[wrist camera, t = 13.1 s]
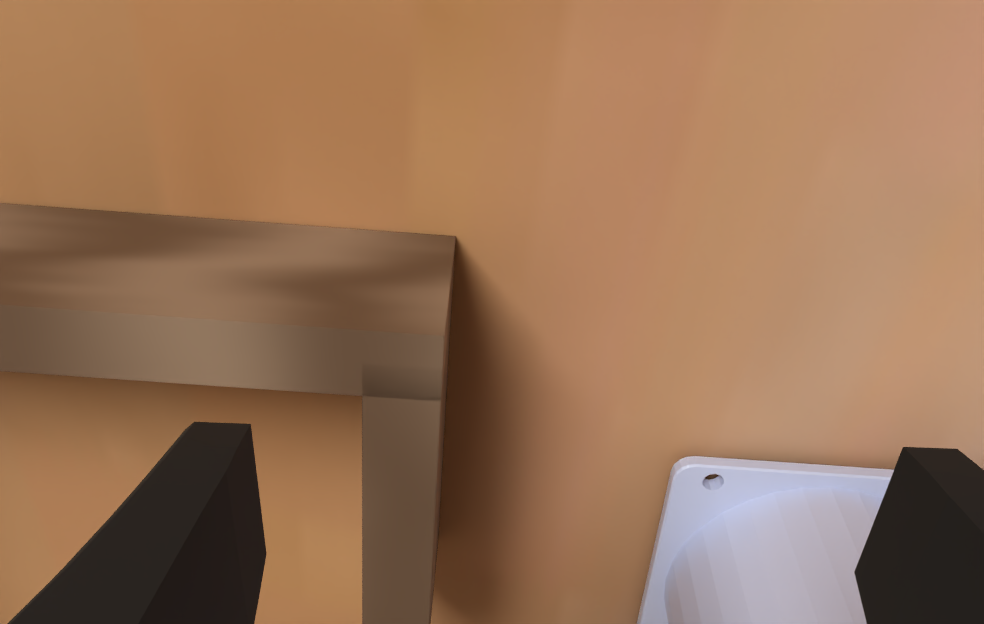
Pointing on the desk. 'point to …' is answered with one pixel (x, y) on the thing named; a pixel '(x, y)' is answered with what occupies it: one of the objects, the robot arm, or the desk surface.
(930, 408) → the desk surface
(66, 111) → the desk surface
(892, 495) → the robot arm
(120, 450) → the desk surface
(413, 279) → the walnut cubby
